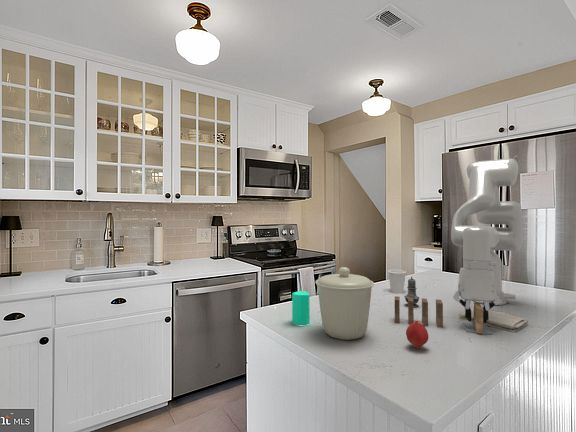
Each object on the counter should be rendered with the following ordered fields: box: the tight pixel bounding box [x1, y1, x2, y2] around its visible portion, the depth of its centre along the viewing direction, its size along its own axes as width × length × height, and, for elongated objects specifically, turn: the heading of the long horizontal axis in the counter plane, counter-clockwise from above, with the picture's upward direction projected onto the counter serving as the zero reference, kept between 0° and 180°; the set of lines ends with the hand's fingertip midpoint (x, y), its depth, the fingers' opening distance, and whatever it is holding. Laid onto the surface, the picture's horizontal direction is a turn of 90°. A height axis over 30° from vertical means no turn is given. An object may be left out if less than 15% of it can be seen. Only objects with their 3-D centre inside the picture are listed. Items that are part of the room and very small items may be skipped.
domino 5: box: [472, 302, 484, 335], centre depth 100 cm, size 2×5×8 cm, turn 160°
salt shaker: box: [403, 276, 420, 309], centre depth 129 cm, size 6×6×12 cm
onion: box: [405, 319, 430, 349], centre depth 88 cm, size 6×6×8 cm
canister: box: [315, 266, 375, 341], centre depth 99 cm, size 18×18×21 cm
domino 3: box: [421, 297, 429, 327], centre depth 108 cm, size 2×5×8 cm, turn 160°
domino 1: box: [394, 295, 401, 324], centre depth 111 cm, size 2×5×8 cm, turn 160°
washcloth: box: [458, 307, 529, 333], centre depth 109 cm, size 12×18×3 cm, turn 37°
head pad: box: [461, 322, 493, 335], centre depth 102 cm, size 7×8×1 cm
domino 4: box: [435, 299, 444, 329], centre depth 106 cm, size 2×5×8 cm, turn 160°
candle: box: [291, 290, 311, 326], centre depth 109 cm, size 6×6×12 cm
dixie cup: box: [387, 269, 407, 294], centre depth 152 cm, size 8×8×10 cm
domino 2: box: [407, 297, 415, 325], centre depth 109 cm, size 2×5×8 cm, turn 160°
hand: (476, 320), depth 102 cm, fingers open, 3 cm apart
